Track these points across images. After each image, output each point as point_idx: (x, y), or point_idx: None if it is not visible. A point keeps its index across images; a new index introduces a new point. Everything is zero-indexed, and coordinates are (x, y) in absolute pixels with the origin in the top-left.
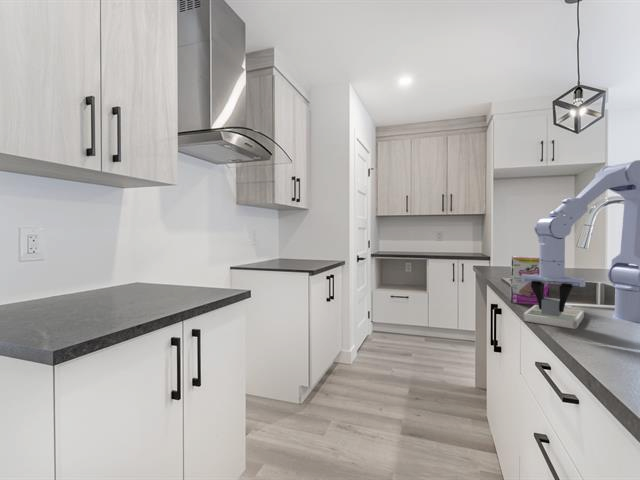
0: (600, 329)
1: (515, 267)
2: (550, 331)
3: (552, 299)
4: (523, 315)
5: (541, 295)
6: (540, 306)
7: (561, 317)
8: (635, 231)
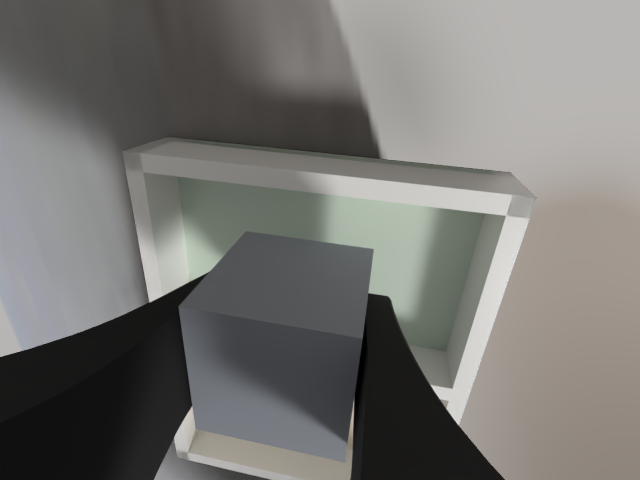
0: (96, 259)
1: None
2: (298, 9)
3: (261, 395)
4: (526, 191)
5: (362, 409)
6: (379, 305)
7: None
8: None
